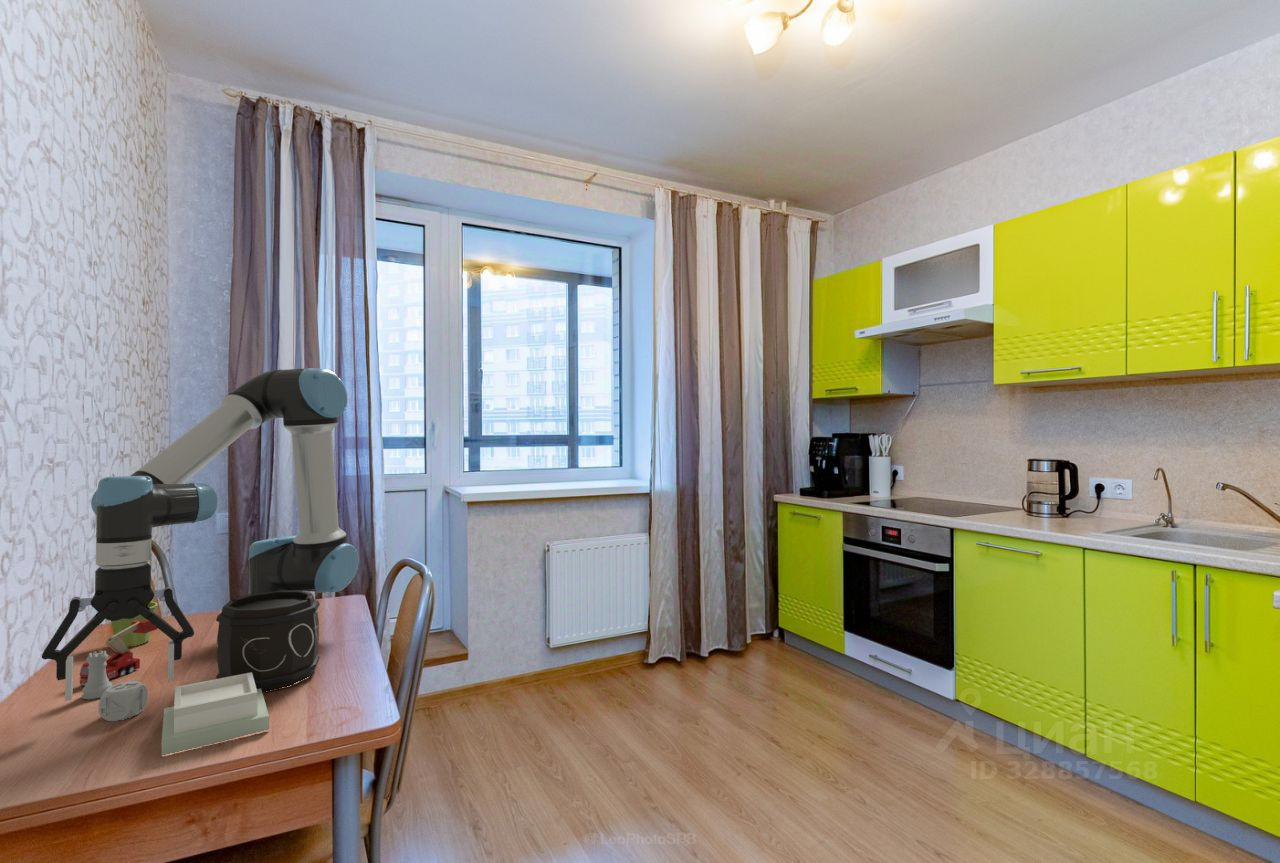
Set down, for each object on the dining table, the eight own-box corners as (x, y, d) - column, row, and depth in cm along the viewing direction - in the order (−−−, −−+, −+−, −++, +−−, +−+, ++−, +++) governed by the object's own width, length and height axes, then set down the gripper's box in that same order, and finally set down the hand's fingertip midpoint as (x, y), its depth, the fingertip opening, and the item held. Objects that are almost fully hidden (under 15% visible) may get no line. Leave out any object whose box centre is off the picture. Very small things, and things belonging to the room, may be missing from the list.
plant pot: (115, 653, 141) (116, 614, 141) (99, 646, 146) (99, 608, 146) (164, 641, 149) (164, 605, 149) (147, 635, 154) (147, 599, 154)
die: (131, 720, 107) (131, 691, 108) (98, 723, 106) (98, 693, 107) (148, 708, 112) (148, 679, 112) (116, 710, 111) (116, 682, 111)
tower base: (261, 704, 114) (260, 667, 114) (269, 734, 103) (269, 693, 103) (164, 726, 106) (164, 686, 106) (161, 760, 95) (161, 715, 95)
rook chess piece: (114, 695, 118) (114, 652, 118) (83, 702, 115) (83, 658, 115) (110, 688, 121) (110, 647, 121) (79, 696, 118) (79, 653, 118)
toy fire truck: (76, 687, 122) (76, 637, 122) (145, 662, 135) (145, 617, 135) (90, 688, 121) (90, 638, 121) (157, 663, 135) (158, 618, 135)
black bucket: (340, 673, 128) (340, 595, 129) (245, 704, 114) (245, 616, 114) (294, 656, 139) (294, 584, 139) (201, 682, 124) (201, 602, 124)
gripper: (20, 577, 99) (17, 714, 98) (212, 559, 115) (210, 677, 114) (27, 570, 105) (24, 699, 104) (208, 554, 120) (206, 666, 120)
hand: (121, 688), depth 109 cm, fingers open, 13 cm apart
